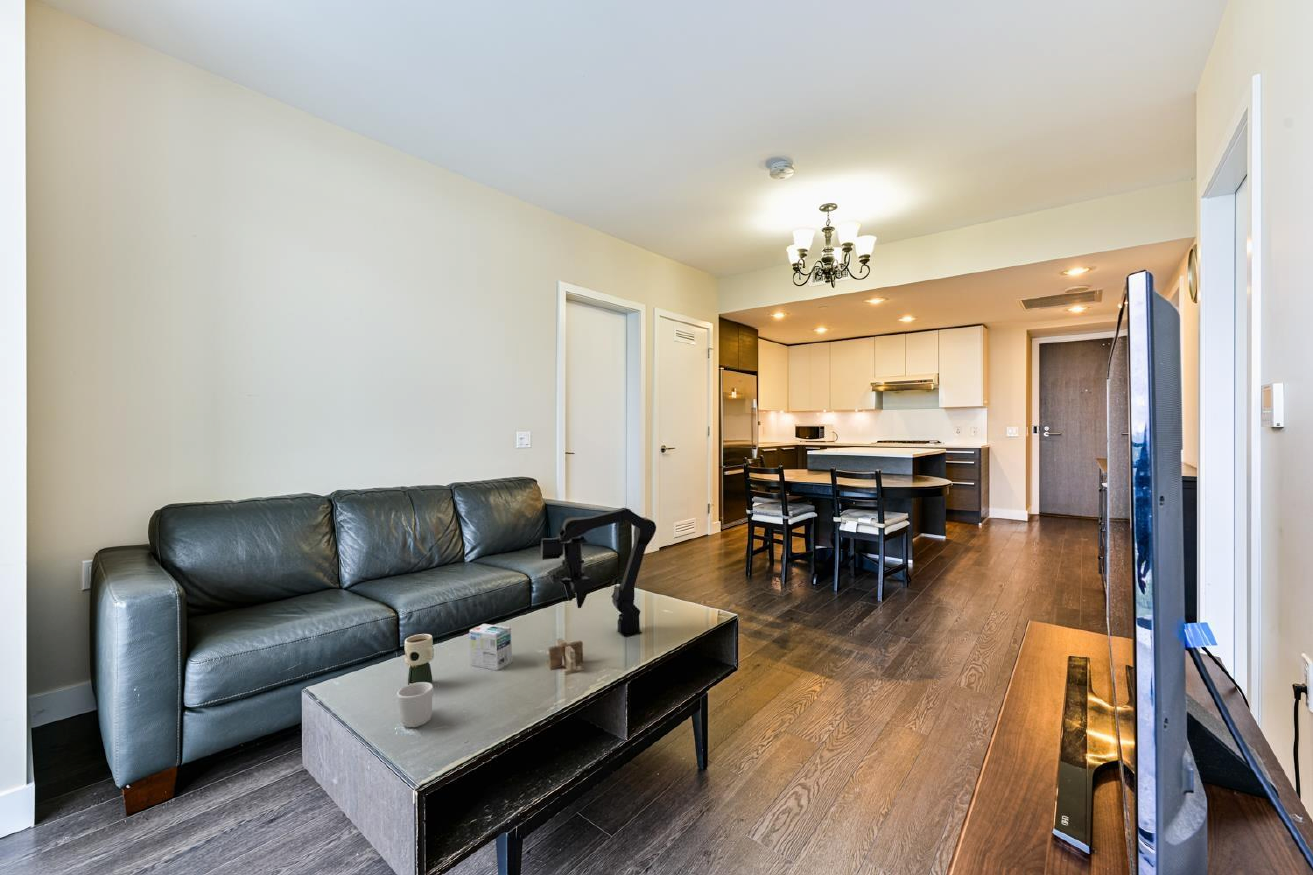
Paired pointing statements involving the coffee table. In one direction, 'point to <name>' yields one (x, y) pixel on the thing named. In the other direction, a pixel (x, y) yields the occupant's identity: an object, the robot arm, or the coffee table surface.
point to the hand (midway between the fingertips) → (574, 604)
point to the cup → (415, 703)
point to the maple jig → (568, 658)
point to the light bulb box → (490, 646)
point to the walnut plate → (559, 652)
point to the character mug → (419, 657)
